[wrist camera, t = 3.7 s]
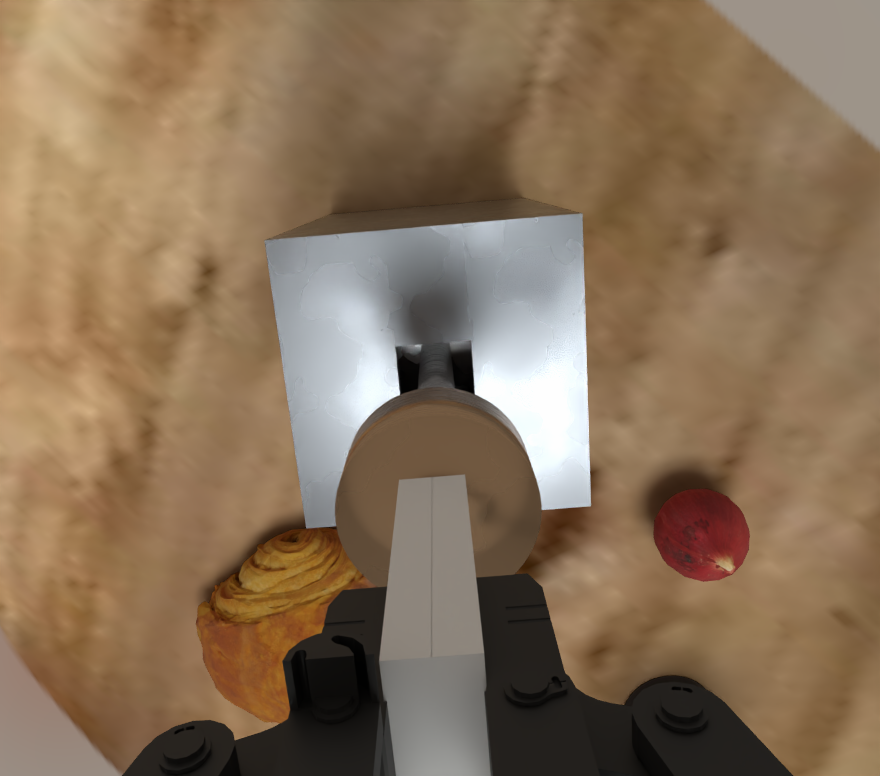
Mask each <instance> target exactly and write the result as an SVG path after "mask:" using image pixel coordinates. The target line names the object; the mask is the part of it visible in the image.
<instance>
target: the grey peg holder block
mask: <svg viewBox="0 0 880 776" xmlns="http://www.w3.org/2000/svg"><path fill="white" fill-rule="evenodd" d="M265 247H266V254H267V260H268V267H269V274H270V281H271V288H272V295H273V302H274V309H275V316H276V323H277V330H278V337H279V343H280V350H281V357H282V364H283V371H284V378H285V385H286V392H287V399H288V406H289V413H290V419H291V426H292V433H293V440H294V447H295V454H296V461H297V468H298V475H299V482H300V489H301V496H302V502H303V509H304V516H305V523H306V529H307V528H319V527H332V526H336V522H335V501H336V494H337V490H338V485H339V482H340V479H341V475H342V472H343V469H344V465H345V462H346V459H347V456H348V452H349V449H350V446H351V444H352V441H353V439H354V437H355V435H356V433H357V431H358V430H359V428H360V427H361V425H362V424H363V423H364V421H365V420H366V419H367V418H368V417H369V416H370V415H371V414H372V413H373V412H374V411H375V410H376V409H377V408H379V407H380V406H381V405H382V404H384V403H385V402H387V401H389V400H391V399H392V398H394V397H396V396H399V395H401V394H402V393H401V383H400V373H399V363H398V353H397V346H408V345H420V344H432V343H444V342H456V341H468V340H470V342H471V356H472V370H473V384H474V394H475V395H478V396H480V397H482V398H483V399H485V400H487V401H489V402H490V403H492V404H493V405H495V406H496V407H497V408H499V409H500V410H501V411H502V412H503V413H504V414H505V415H506V416H507V417H508V418H509V419H510V421H511V422H512V423H513V424H514V425H515V427H516V429H517V430H518V432H519V434H520V435H521V438H522V440H523V442H524V445H525V447H526V450H527V453H528V456H529V459H530V462H531V465H532V468H533V471H534V474H535V477H536V480H537V483H538V487H539V491H540V496H541V504H542V510H547V509H559V508H572V507H584V506H591V493H590V459H589V425H588V390H587V356H586V322H585V288H584V254H583V220H582V213H579V212H575V211H571V210H568V209H564V208H560V207H556V206H553V205H549V204H545V203H541V202H538V201H534V200H530V199H526V198H515V199H503V200H492V201H480V202H468V203H456V204H445V205H433V206H421V207H409V208H398V209H386V210H374V211H362V212H351V213H339V214H330V215H327V216H325V217H322V218H320V219H317V220H315V221H312V222H310V223H307V224H305V225H302V226H300V227H297V228H294V229H292V230H289V231H287V232H284V233H282V234H279V235H277V236H274V237H272V238H269V239H267V240H265Z"/></svg>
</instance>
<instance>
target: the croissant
mask: <svg viewBox="0 0 880 776" xmlns="http://www.w3.org/2000/svg"><path fill="white" fill-rule="evenodd" d="M257 546H258V547H257V549H258V550H257V552H255V553H254V554H253V555H252V556H251V557H250V558H249V559H247V560H246V561H245V562H244V563H243V565H242V568H241V571H240V572H237V573H235V574H233V575H231V576H230V577H229V578H228V579H227V580H226V581H225V582H220V585H219V586H218V585H215V586H214V587H215V591H214V592H212V596H211V600H210V602H209V603H207V602H203V603H201V604H200V605H199V606H198V615H197V620H196V626H197V632H198V637H199V639H200V641H201V644H202V647H203V660H204V663H205V665H206V668H207V670H208V672H209V674H210V676H211V678H212V680H213V681H214V683H215V686H216V688H217V689H218V691H219V692H220V693H221V694H222V695H223V697H224V698H225V699H227V700H228V701H230V702H231V703H233V704H234V705H236V706H238V707H240V708H242V709H244V710H246V711H247V712H249V713H251V714H253V715H255V716H256V717H257V718H259V719H260V720H262V721H264V722H277V723H282V722H283V721H285V720H287V719H288V716H289V712H290V706H289V700H288V694H287V688H286V682H285V676H284V669H283V663H282V661H283V659H284V657H285V656H286V654H287V653H288V651H289V650H290V649H291V648H292V647H294V646H295V645H296V644H297V643H299V642H300V641H302V640H304V639H306V638H308V637H311V636H313V635H315V634H319V633H322V629H323V627H324V621H325V617H326V613H327V609H328V606H329V604H330V603H331V602H332V601H333V600H334V599H335V598H336V597H337V596H338V595H339V593H340V592H341V591H342V590H348V589H361V588H374V587H377V586H375V585H374V584H373V583H371V582H370V581H369V580H368V579H367V578H365V577H364V576H363V575H362V574H361V573H360V572H359V570H358V569H357V568H356V567H355V566H354V565H353V563H352V562H351V560H350V559H349V557H348V556H347V554H346V552H345V550H344V548H343V546H342V544H341V541H340V538H339V535H338V532H337V530H335V529H331V528H308V529H294V530H290V531H287V532H285V533H283V534H281V535H277V536H275V537H274V538H272V539H270V540H269V541H267V542H266V543H265V544H259V545H257Z"/></svg>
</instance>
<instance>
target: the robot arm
mask: <svg viewBox="0 0 880 776" xmlns="http://www.w3.org/2000/svg"><path fill="white" fill-rule="evenodd" d="M282 663H283V669H284V676H285V682H286V688H287V694H288V700H289V706H290V712H289V716H288V719H287V720H285V721H283V722H282V723H280V724H278V725H277V726H275V727H273V728H270V729H268V730H265V731H263V732H260V733H257V734H254V735H251V736H248V737H244V738H241V739H238V740H234V735H233V732H232V731H231V730H230V729H229V728H228V727H227V726H226V725H225V724H222V723H218V722H215V721H212V720H204V721H191V722H188V723H185V724H182V725H178V726H175V727H173V728H171V729H169V730H168V731H166V732H164V733H162V734H161V735H159V736H157V737H156V738H155V739H154V740H153V741H152V742H151V743H150V744H149V745H147V746H146V747H145V748H144V749H143V750H142V752H141V753H140V754H139V755H138V757H137V758H136V759H135V760H134V762H133V763H132V764H131V765H130V767H129V768H128V769H127V770H126V772H125V773H124V774H123V775H122V776H793V775H792V774H791V773H790V772H789V771H788V770H787V769H786V768H785V766H784V765H783V764H782V763H781V762H780V761H779V760H778V759H777V758H776V757H775V756H774V755H773V754H772V753H771V751H770V750H769V749H768V748H767V747H766V746H765V745H764V744H763V743H762V742H761V741H760V740H759V739H758V738H757V736H756V735H755V734H754V733H753V732H752V731H751V730H750V729H749V728H748V727H747V726H746V725H745V724H744V723H743V722H742V720H741V719H740V718H739V717H738V716H737V715H736V714H735V713H734V712H733V711H732V710H731V709H730V708H729V707H728V705H727V704H726V703H725V702H723V701H722V700H721V699H720V698H718V697H717V696H716V695H714V694H713V693H712V692H710V691H708V690H705V689H703V688H700V687H698V686H695V685H693V684H686V683H679V682H668V683H658V684H655V685H652V686H650V687H648V688H645V689H643V690H642V691H641V692H640V693H639V694H638V695H637V696H636V698H635V699H634V700H633V707H632V706H625V705H619V704H613V703H608V702H604V701H600V700H597V699H595V698H592V697H590V696H588V695H585V694H584V693H583V692H581V691H580V690H578V689H577V688H576V687H575V685H574V684H573V682H572V680H571V679H570V677H569V676H568V675H567V674H565V671H564V668H563V664H562V660H561V656H560V653H559V649H558V645H557V641H556V638H555V634H554V630H553V626H552V622H551V620H550V615H549V611H548V607H547V604H546V600H545V596H544V592H543V588H542V587H541V586H540V585H539V584H538V583H537V582H536V581H535V580H534V579H533V578H532V577H531V576H530V575H528V574H515V575H502V576H489V577H477V578H476V572H475V563H474V554H473V544H472V535H471V526H470V516H469V507H468V498H467V488H466V479H465V475H452V476H440V477H427V478H415V479H402V480H399V485H398V494H397V503H396V512H395V521H394V530H393V539H392V548H391V557H390V567H389V576H388V585H387V587H374V588H361V589H348V590H342V591H341V592H340V593H339V595H338V596H337V597H336V598H335V599H334V600H333V601H332V602H331V603H330V604H329V606H328V609H327V613H326V617H325V621H324V627H323V629H322V633H319V634H315V635H313V636H311V637H308V638H306V639H304V640H302V641H300V642H299V643H297V644H296V645H295V646H294V647H292V648H291V649H290V650H289V651H288V653H287V654H286V656H285V657H284V659H283V661H282Z"/></svg>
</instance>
